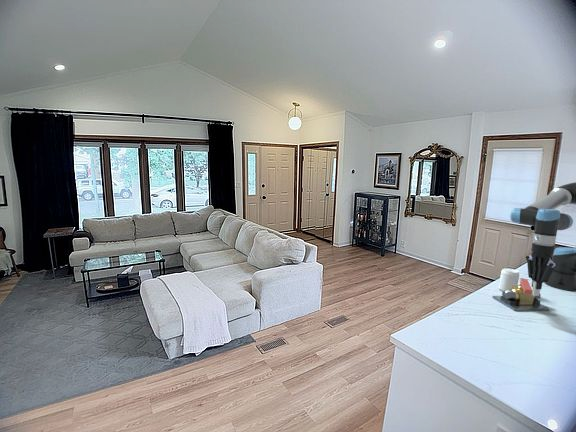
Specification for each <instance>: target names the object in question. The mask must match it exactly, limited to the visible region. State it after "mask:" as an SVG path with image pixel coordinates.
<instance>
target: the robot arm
mask: <svg viewBox="0 0 576 432" xmlns="http://www.w3.org/2000/svg"><path fill="white" fill-rule="evenodd" d="M569 204H570V205H571V204H572V205H576V182H570V183H567V184H563V185H561V186H558V187H556V188H553V189H552V190H551V191H550V192H549V193H548V194H547V195H546V196H544V197H542V198H540V199H538V200H537V201H535V202H533V203H531V204H529V205H527V206H526V207H524V208H522V207H515V208H513V209H512V210H511V212H510V221H511V222H512V223H515V224H519V225H525V226H531V227H534V230H533V231H534V232H533V237H532V242H533V243H531V249H530V250H531V253H530V255H526V256H525V259H526V263H527V274H528V278H529V279H531V280H532V282H531V289H532V294H531V295H533V296H539V293H540V292H541V290H542V287H543V283H544V284H545V285H547V286H550V287H552V288H555V289H559V290H564V291H571V292H572V291H573V292H574V291H575V292H576V247H569V246H568V247H565V246H564V247H561V246H559V247H556V248H555V245H556V239H557V234H558V231H565V230H568V229H570V228H571V227H572V226H573V223H574V219H573V218H572V216H571V215H570V214H568V213H564V212H560V210H558V208H560V207H562V206H566V205H569ZM540 294H541V293H540Z"/></svg>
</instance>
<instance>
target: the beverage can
mask: <svg viewBox="0 0 576 432" xmlns="http://www.w3.org/2000/svg"><path fill="white" fill-rule="evenodd" d="M519 277H520V271H519V270H517V269H513V268H511V267H510V268H509V267H508V268H507V267H504V268H502V270H501V273H500V276H499V283H498V290H500V291H502V292H503V291H509V290H510V285H519V281H520V278H519Z"/></svg>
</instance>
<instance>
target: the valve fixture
mask: <svg viewBox="0 0 576 432" xmlns="http://www.w3.org/2000/svg"><path fill="white" fill-rule="evenodd" d="M540 298H541V293H539V296H533V295H530V294H525V293H524V291H523V288H522V286H520V284H518V285H510V290H509V291H502V293H501V295H492V299H494V300H496V302H499V303H500V304H502V305H504V306H506V308H509V309H510V310H512V311H514V312H548V311H550V307H548V306H545V305H544V304H542V303H541V300H539V299H540Z"/></svg>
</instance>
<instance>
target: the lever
mask: <svg viewBox="0 0 576 432" xmlns="http://www.w3.org/2000/svg"><path fill="white" fill-rule="evenodd" d="M519 285H520V286H522V288H523V291H524V293H525V294H530V295H531V294H532V285H531V284H530V282H529V280H528V278H523V277H521V278H519Z"/></svg>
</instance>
